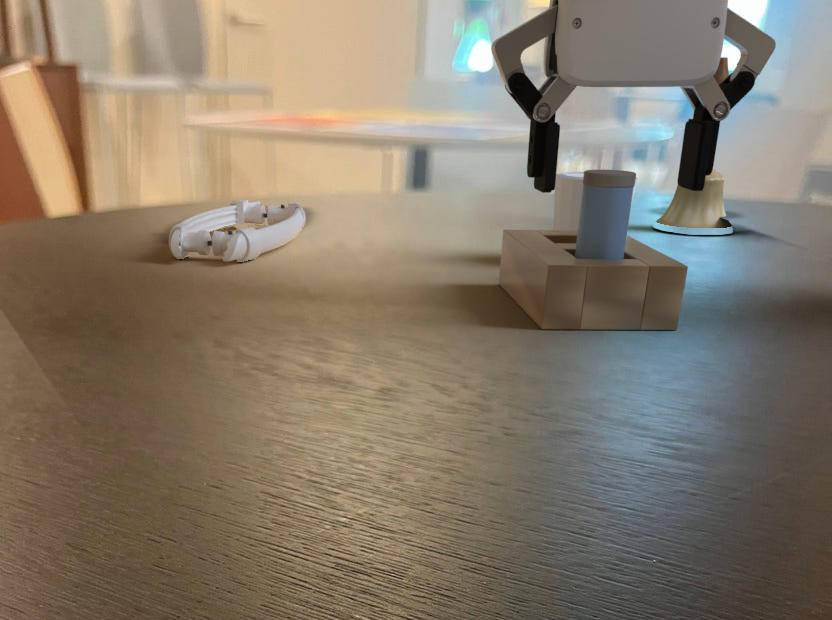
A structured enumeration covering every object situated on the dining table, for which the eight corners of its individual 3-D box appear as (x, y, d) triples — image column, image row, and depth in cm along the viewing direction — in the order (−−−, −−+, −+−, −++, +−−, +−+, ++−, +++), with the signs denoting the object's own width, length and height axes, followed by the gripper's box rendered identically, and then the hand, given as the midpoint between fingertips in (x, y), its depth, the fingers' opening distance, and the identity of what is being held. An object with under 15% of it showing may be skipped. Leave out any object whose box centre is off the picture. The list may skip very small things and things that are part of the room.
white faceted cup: (575, 271, 85) (586, 180, 81) (530, 258, 90) (538, 171, 87) (641, 267, 87) (655, 178, 84) (594, 254, 93) (604, 170, 89)
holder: (611, 285, 80) (619, 230, 78) (677, 330, 66) (688, 266, 65) (498, 284, 79) (503, 229, 77) (541, 329, 66) (548, 264, 64)
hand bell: (731, 238, 103) (765, 57, 96) (647, 232, 106) (674, 55, 98) (735, 228, 110) (768, 58, 102) (657, 223, 113) (682, 57, 105)
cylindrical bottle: (608, 310, 72) (627, 169, 67) (621, 320, 69) (643, 174, 64) (562, 309, 72) (578, 169, 67) (573, 320, 69) (591, 173, 64)
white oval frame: (323, 228, 105) (260, 268, 84) (230, 224, 106) (145, 261, 85) (323, 200, 104) (259, 233, 82) (229, 196, 105) (143, 227, 84)
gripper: (775, -128, 61) (725, 182, 70) (491, -128, 61) (475, 185, 69) (833, -150, 55) (770, 194, 63) (516, -151, 54) (495, 197, 63)
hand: (616, 189), depth 66 cm, fingers open, 9 cm apart
